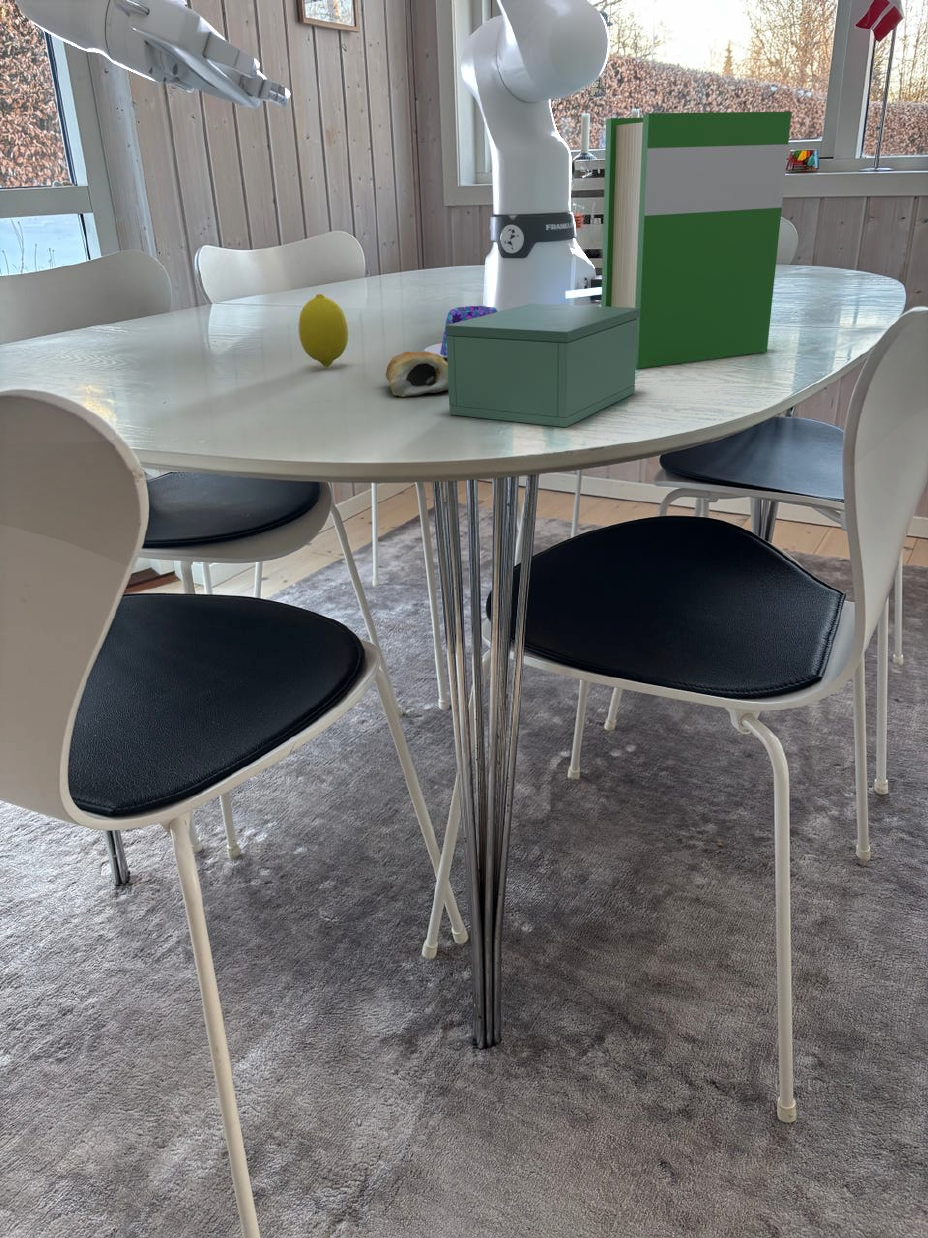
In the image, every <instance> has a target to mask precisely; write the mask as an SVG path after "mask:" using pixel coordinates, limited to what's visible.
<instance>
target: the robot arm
mask: <svg viewBox="0 0 928 1238" xmlns="http://www.w3.org/2000/svg"><path fill="white" fill-rule="evenodd" d="M495 1H496V3H497V5H498V7H499V10H500V13H501V14H500V15H497V16H493V17H491V18H490V19H488V20H487V21H486V22H484V23H482V25H480V26H479V27H478V28H477V29H476V30H474V31H473V32H472V33H471V34H470V35H469V37H468V38H466V39H467V40H466V41H465V43H464V45H463V48H462V52H461V54H460V55H461V57H460V70H461V75H462V79H463V82H464V85H465V86H466V88H467V90H468V91H469V93H470V94H471V95H472V96H473V98H474V99H475V101H476V103H477V105H478V108H479V110H480V114H481V117H482V121H483V125H484V128H485V131H486V136H487V141H488V146H489V152H490V160H491V181H492V183H491V184H492V211H493V212H492V213H493V214H491V215H490V224H489V231H490V233H489V234H490V241H491V242H492V247H491V250H490V252H489V253H488V254H487V256H486V257H485V259H484V275H483V295H482V306H486V307H494V308H496V309H497V311H498V312H500V311H504V310H508V309H512V308H515V307H519V306H523V305H527V304H551V305H577V306H601V296H602V275H597V272H596V268H595V266H594V264H592V262H591V261H590V260H589V258H588V256H587V255H586V254H585V253H584V251H583V250H582V248H581V247H580V246H579V244H578V242H577V240H576V239H577V237H578V234H577V230H582V228H583V225H584V217H583V214H580V213H577V214H574V212H572V211H571V203H572V202H571V201H572V200H571V199H572V198H571V195H572V155H571V150H570V148H569V146H568V144H567V143H566V142H565V141H564V139H563V138H562V137H561V135H560V134H559V132H558V130H557V127H556V124H555V121H554V116H553V112H552V107H551V100H552V101H553V100H558V99H565V98H568V97H570V96H572V95H575V94H576V93H578V92H581V91H582V90H584V89H586V88H587V87H588V86H591V85H592V84H594V83H595V82H596V81H597V80H598V78H599V77H600V76H601V75H602V74H603V71H604V69H605V67H606V64H607V61H608V58H609V52H610V36H609V29H608V27H607V26H608V25H607V23H606V21H605V19H604V17H603V15H602V13H601V12H600V10H598V8H596V6H594V5H593V4H592V3H591V2H589V0H495ZM14 2H15V4H16V6H17V7H18V9H19V10H20V12H21V13H22V15H23V16H24V17H25V18H26V19H27V20H29V21H30V22H31V23H32V24H34V25H35V26H37V27H39V28H40V29H41V30H43V31H45V32H46V33H48V34H50V35H52V36H54V37H56V38H58V39H59V40H61V41H63V42H65V43H68V44H70V45H72V46H73V47H76V48H78V49H81V50H83V51H86V52H90V53H98V54H101V55H103V56H105V57H106V58H107V59H108V60H110V61H111V62H112V63H113V64H115V65H117V66H119V67H121V68H123V69H126V70H128V71H131V72H133V73H135V74H137V75H139V76H142V77H144V78H146V79H148V80H150V81H153V82H155V83H158V84H165V85H172V86H174V87H176V88H177V89H180V90H182V91H186V92H187V93H191V94H192V93H193V92H194V91H195V90H197V91H200V92H202V93H204V94H207V95H210V96H212V97H216V98H218V99H222V100H224V101H227V102H230V103H232V104H236V105H239V106H242V107H245V108H250V109H258V108H259V107H260V106H261V103H262V101H264V102H269V103H273V104H276V105H278V106H280V107H286V106H287V105H288V103H289V100H290V97H291V91H290V89H288V88H286V87H285V86H284V85H283V84H280V83H279V82H276V81H272V80H269V79H267V76H265V75H264V74H263V73H262V72H261V71H260V70H259V69H260V65H261V64H260V62H259V60H258V59H257V58H256V57H255V56H254V55H252V54H250V53H248V52H246V51H244V50H242V49H239V48H238V47H236V46H235V45H233V44H232V43H230V42H229V41H228V40H227V39H226V38H225V37H224V36H223V35H221V33H220V32H219V31H217V30H216V29H215V28H214V26H212V24H210V23H209V22H208V21H207V20H206V19H205V18H204V17H203V16H202V15H200V14H199V13H198V12H196V11H195V10H193V9H191V8H190V7H188V4H187V2H186V0H14Z"/></svg>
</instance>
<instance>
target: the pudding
mask: <svg viewBox="0 0 928 1238" xmlns="http://www.w3.org/2000/svg"><path fill="white" fill-rule="evenodd" d="M496 312H498V311H497V309H496V308H494V307H486V306H483V305H476V306H475V305H468V306H463V307H462V306H460V307H455V308H452V309H450V310H449V311H448V313H447V315H446V320H445V325H444V331H443V335H442V340H441V343H436V344H432V345H430V346H427V347H426V348H424V350H423V351H427V352H431V353H434V354H439V355H440V356H442V357H443V359H446V360H447V339H446V336H449V335H446V325H449V324H453V323H457V322H461V321H465V320H469V319H473V318H476V317H480V316H484V315H488V314H492V313H496Z"/></svg>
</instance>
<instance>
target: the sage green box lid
mask: <svg viewBox="0 0 928 1238" xmlns="http://www.w3.org/2000/svg"><path fill="white" fill-rule="evenodd" d="M640 311H641V308H630V307H604V306H577V305H551V304H527V305H523V306H519V307H515V308H512V309H508V310H504V311H500V312H496V313H492V314H488V315H484V316H480V317H476V318H473V319H469V320H465V321H461V322H457V323H453V324H449V325H446V324H445V325H446V335H449V336H465V337H482V338H499V339H515V340H532V341H548V342H565V343H567V342H570V341H573V340H576V339H579V338H582V337H584V336H587V335H590V334H593V333H596V332H599V331H602V330H605V329H608V328H611V327H613V326H616V325H619V324H622V323H625V322H628V321H631V320H634V319H637V318H640Z"/></svg>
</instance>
